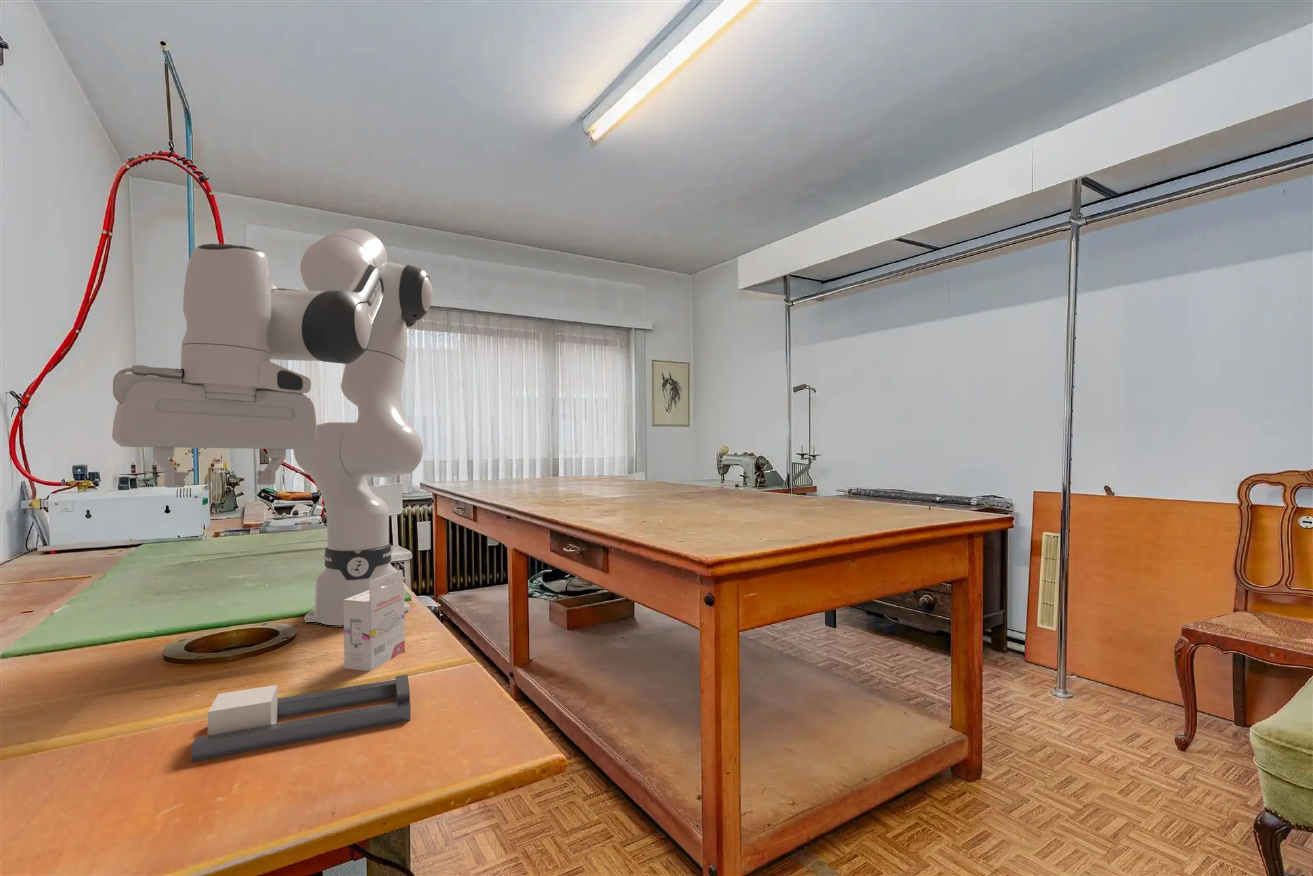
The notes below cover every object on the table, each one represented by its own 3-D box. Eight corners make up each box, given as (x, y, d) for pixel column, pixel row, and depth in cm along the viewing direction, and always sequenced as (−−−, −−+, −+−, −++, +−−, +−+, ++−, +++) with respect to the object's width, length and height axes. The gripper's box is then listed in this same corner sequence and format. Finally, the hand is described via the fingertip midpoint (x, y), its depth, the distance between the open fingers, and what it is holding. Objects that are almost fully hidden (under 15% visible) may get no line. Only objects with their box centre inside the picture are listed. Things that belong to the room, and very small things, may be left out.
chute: (212, 733, 72) (212, 701, 71) (406, 698, 81) (407, 670, 81) (191, 771, 63) (191, 735, 63) (410, 728, 73) (410, 696, 73)
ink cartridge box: (379, 654, 97) (379, 566, 97) (405, 657, 96) (406, 568, 96) (341, 675, 89) (342, 579, 89) (370, 678, 88) (370, 581, 88)
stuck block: (218, 730, 70) (218, 693, 70) (277, 719, 73) (277, 684, 73) (207, 750, 66) (207, 711, 66) (270, 738, 68) (271, 701, 68)
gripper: (121, 360, 62) (116, 490, 61) (323, 381, 78) (320, 484, 78) (106, 364, 65) (101, 488, 65) (302, 384, 82) (299, 482, 82)
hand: (222, 485), depth 72 cm, fingers open, 8 cm apart
